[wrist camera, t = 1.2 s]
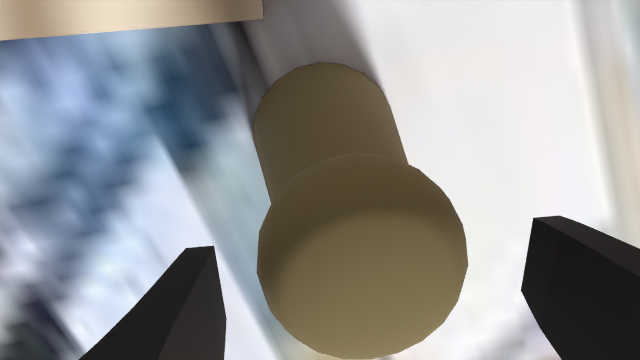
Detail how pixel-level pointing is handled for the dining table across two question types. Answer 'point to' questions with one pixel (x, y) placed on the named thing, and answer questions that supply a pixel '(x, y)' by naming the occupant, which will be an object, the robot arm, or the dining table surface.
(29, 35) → the base board
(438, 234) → the cork
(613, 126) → the dining table surface
